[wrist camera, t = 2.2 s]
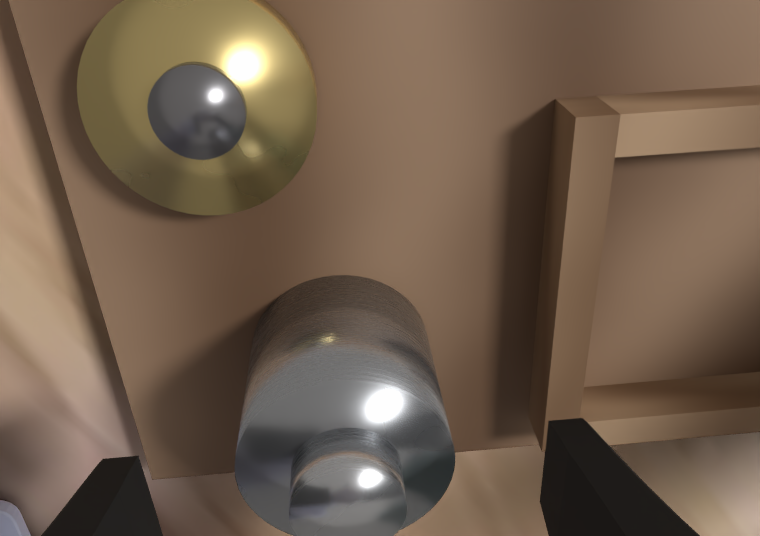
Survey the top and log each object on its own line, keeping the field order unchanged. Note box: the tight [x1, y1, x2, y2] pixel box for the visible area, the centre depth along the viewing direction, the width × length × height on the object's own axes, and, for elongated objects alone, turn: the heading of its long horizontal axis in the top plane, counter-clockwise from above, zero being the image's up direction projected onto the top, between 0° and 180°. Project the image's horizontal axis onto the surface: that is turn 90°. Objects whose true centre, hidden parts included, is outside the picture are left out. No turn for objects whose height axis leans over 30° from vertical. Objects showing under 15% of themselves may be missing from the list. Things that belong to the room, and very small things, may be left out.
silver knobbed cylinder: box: [234, 275, 455, 536], centre depth 13 cm, size 4×4×5 cm
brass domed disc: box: [77, 0, 317, 215], centre depth 12 cm, size 4×4×1 cm
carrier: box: [8, 0, 760, 480], centre depth 14 cm, size 18×12×2 cm, turn 92°
